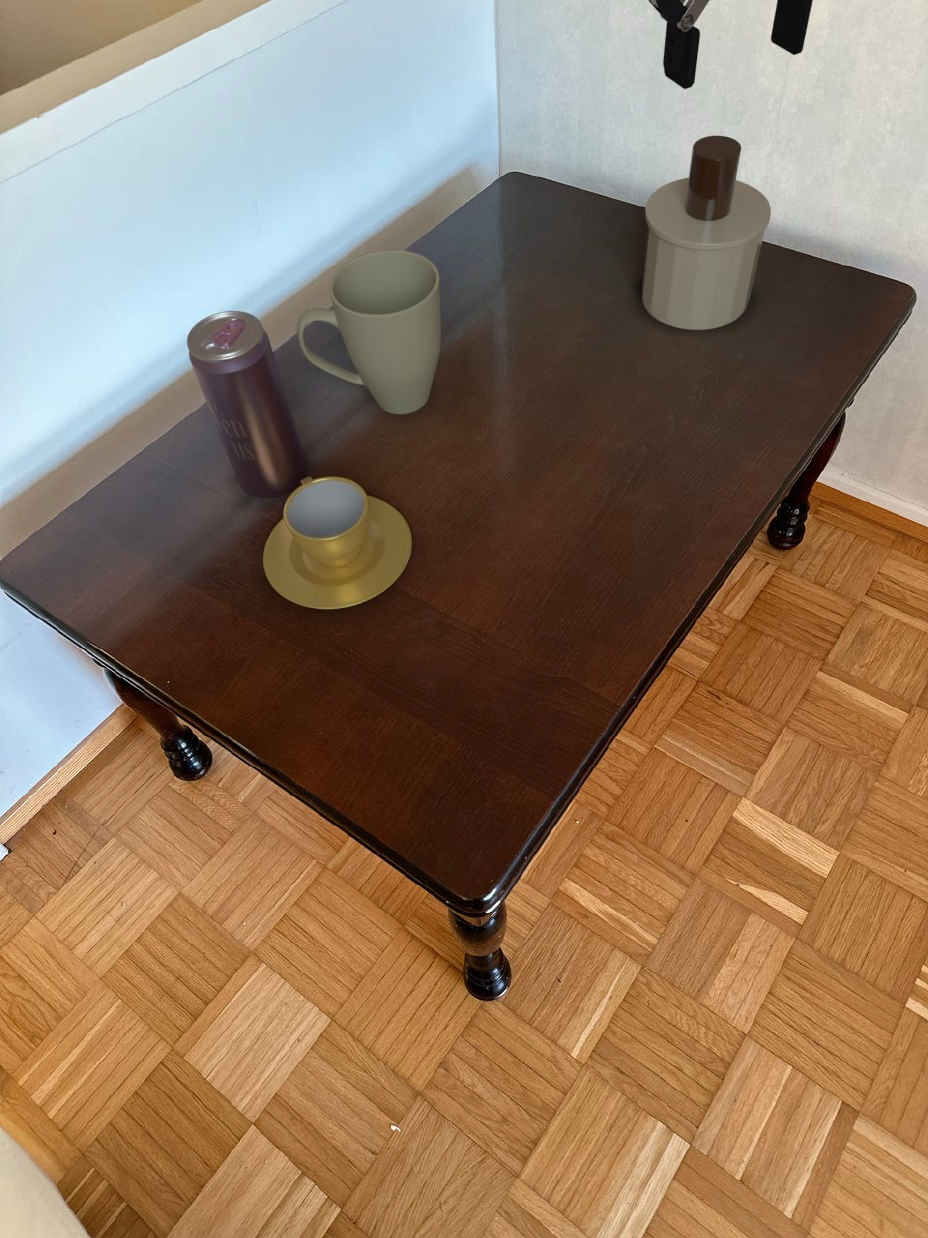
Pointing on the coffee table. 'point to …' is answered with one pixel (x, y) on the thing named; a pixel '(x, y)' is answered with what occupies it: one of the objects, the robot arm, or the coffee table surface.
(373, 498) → the cup
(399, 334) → the mug
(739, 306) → the pot
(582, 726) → the coffee table surface
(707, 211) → the lid
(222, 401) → the beverage can
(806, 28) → the robot arm
